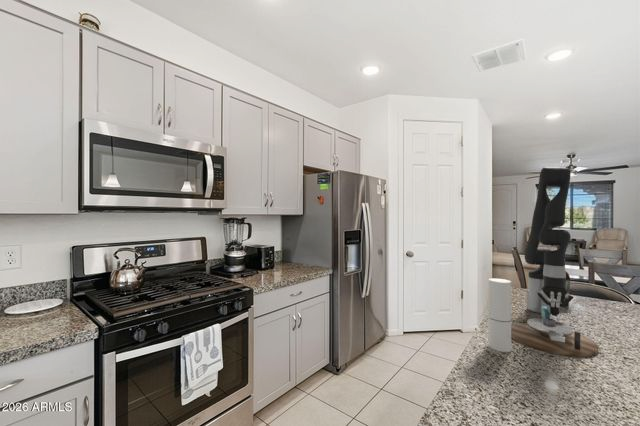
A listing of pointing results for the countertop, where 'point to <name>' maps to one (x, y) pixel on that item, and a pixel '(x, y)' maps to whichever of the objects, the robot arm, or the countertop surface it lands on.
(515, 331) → the base plate
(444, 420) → the countertop surface
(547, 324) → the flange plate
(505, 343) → the cylindrical container
